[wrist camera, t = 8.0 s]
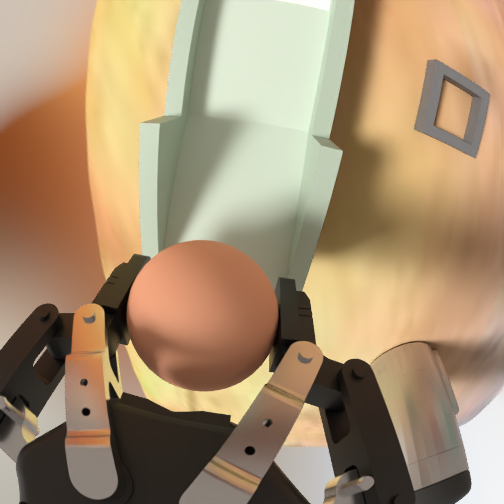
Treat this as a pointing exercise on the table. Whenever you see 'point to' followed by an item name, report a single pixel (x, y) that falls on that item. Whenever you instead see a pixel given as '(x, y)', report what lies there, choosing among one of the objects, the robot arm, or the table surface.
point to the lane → (247, 131)
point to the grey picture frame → (430, 104)
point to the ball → (202, 315)
